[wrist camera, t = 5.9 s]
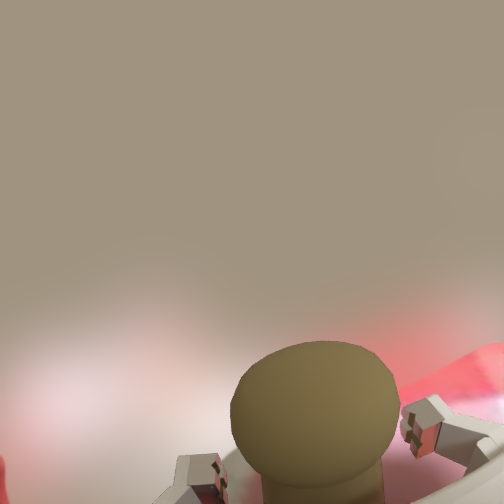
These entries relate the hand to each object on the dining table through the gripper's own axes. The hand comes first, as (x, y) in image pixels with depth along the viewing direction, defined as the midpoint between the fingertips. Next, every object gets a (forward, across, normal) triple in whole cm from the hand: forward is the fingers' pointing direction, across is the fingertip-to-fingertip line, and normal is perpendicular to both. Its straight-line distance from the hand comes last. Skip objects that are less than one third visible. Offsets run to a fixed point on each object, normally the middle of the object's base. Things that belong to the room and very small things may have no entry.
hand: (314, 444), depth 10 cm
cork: (-1, 0, +7) cm, 7 cm away
